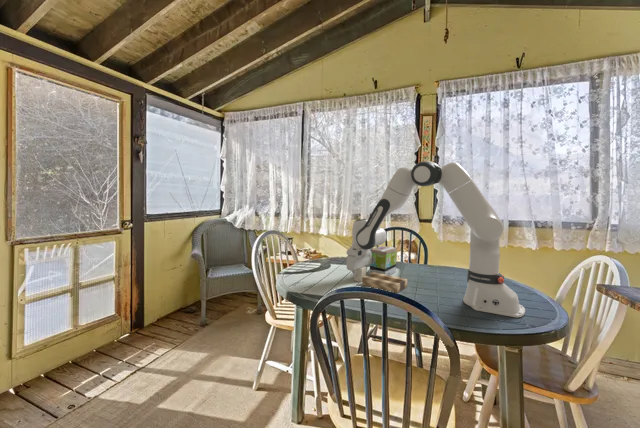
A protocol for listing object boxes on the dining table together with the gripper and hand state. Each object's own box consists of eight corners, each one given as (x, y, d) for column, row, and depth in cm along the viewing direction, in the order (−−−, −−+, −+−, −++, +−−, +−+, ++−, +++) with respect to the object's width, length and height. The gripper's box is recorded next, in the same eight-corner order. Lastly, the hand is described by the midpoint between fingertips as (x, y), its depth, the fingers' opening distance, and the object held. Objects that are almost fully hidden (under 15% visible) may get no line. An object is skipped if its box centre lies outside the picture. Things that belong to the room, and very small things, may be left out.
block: (365, 280, 159) (366, 267, 158) (361, 282, 156) (361, 269, 155) (358, 278, 162) (358, 265, 161) (354, 280, 158) (354, 267, 158)
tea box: (385, 278, 162) (386, 251, 161) (368, 275, 168) (369, 249, 167) (396, 272, 174) (397, 247, 173) (380, 269, 180) (381, 245, 179)
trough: (407, 287, 148) (407, 279, 148) (397, 293, 140) (397, 285, 139) (373, 279, 160) (373, 272, 160) (361, 284, 151) (362, 276, 151)
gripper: (365, 245, 167) (364, 270, 169) (344, 251, 152) (343, 278, 153) (375, 247, 163) (374, 272, 165) (355, 253, 148) (354, 281, 149)
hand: (359, 275), depth 159 cm, fingers open, 8 cm apart
